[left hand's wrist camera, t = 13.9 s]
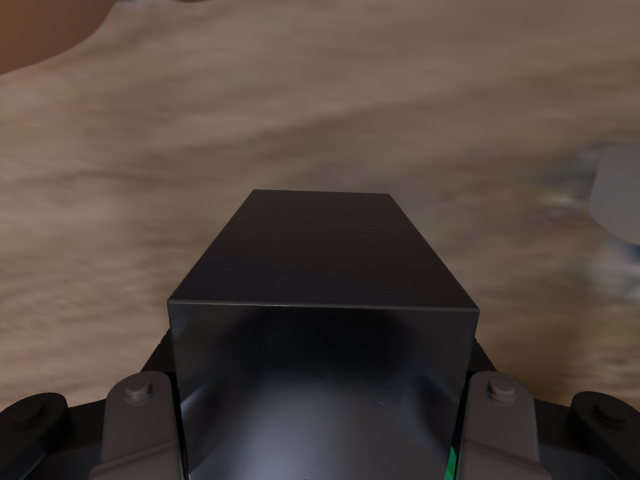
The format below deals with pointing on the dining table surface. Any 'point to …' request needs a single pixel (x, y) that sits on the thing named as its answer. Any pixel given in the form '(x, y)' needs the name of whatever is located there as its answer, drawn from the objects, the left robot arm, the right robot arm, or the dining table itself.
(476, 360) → the left robot arm
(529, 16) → the dining table surface
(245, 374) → the box
